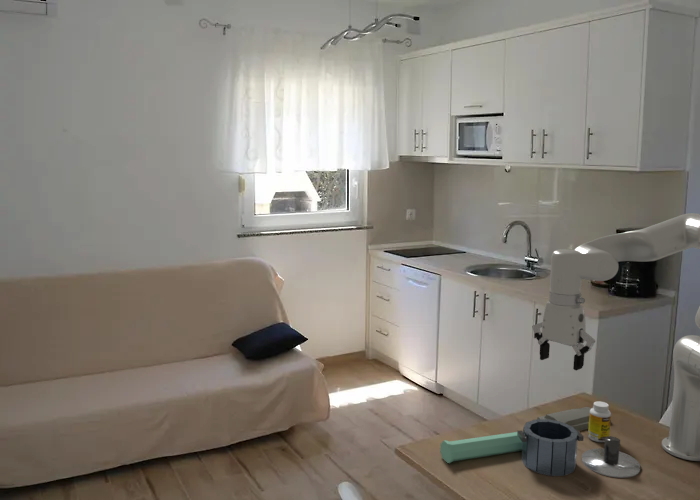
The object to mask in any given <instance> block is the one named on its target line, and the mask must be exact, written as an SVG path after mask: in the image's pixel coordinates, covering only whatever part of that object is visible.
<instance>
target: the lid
mask: <svg viewBox="0 0 700 500" xmlns="http://www.w3.org/2000/svg"><path fill="white" fill-rule="evenodd" d="M620 445H621V439H620V438H619V437H616V436H610V435H609V436H608V437H605V442H604V447H603V448H600V447H599V448H598V447H597V448H592V449H591V448H590V449H587V450H586V451H583V453H582V455H581V462H582V463H583V465H584V466H585V467H586V468H588V469H589V470H590V471H593V472H594V473H596V474H599V475H602V476H606V477H610V478H618V479H619V478H620V479H621V478H623V479H624V478H625V479H626V478H632V477H635V476H637V475H638V474H640V472H641V463H639V461H638V460H637V459H636V458H635V457H633V456H631V455H629V454H628V453H625V452H622V451H620Z"/></svg>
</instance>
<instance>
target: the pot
mask: <svg viewBox="0 0 700 500" xmlns="http://www.w3.org/2000/svg"><path fill="white" fill-rule="evenodd" d="M516 432H517V435H518V437H519V438H520V440H521V441H522V442H523V444H522V451H521V462H522V464H523V465H524V466H525V467H526V468H527V469H529V470H531V471H533V472H534V473H536V474H540V475H544V476H548V477H564V476H567V475H570V474H573V473H574V472H575V470H576V465H577V453H578V452H577V451H578V442H583V441H584V438H585V437H584V435H583V434H582V433H581V432H580V431H578V430H575V429H574V428H573V427H572V426H570V425H567V424H565V423H563V422H560V421H554V420H548V419H537V418H536V419H533V420H529V421H527V422H525V424H524V426H523V429H522V430H517V431H516Z"/></svg>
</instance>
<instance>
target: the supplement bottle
mask: <svg viewBox="0 0 700 500" xmlns="http://www.w3.org/2000/svg"><path fill="white" fill-rule="evenodd" d="M609 409H610V405H609V404H608V403H607V402H605V401H594V402H593V405H592V407H591V409H590V416H589V429H587V430H588V432H587V437H588V439H590V440H591V441H593V442H597V443H605V437H608V436H610V431H611V424H610V422H612V419H611V418H612V413H611V411H610V410H609Z"/></svg>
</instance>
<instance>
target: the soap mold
mask: <svg viewBox="0 0 700 500" xmlns="http://www.w3.org/2000/svg"><path fill="white" fill-rule="evenodd" d="M590 409H592V407H589V406H585V407H581V408H572V409H571V408H570V409H566V410H562V411H555V412H552V413H551V412H550V413H548V414H545V415H542V416H538V417H537V418H536V419H548V420H554V421H560V422H563V423H565V424H567V425H570V426H572V427H573V428H574V429H575V430H578V431H579V432H580V431H583V430H584V431H585V430H588V429H589V416H590ZM612 423H613V422H612V421H611V422H610V425H611V424H612Z"/></svg>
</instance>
